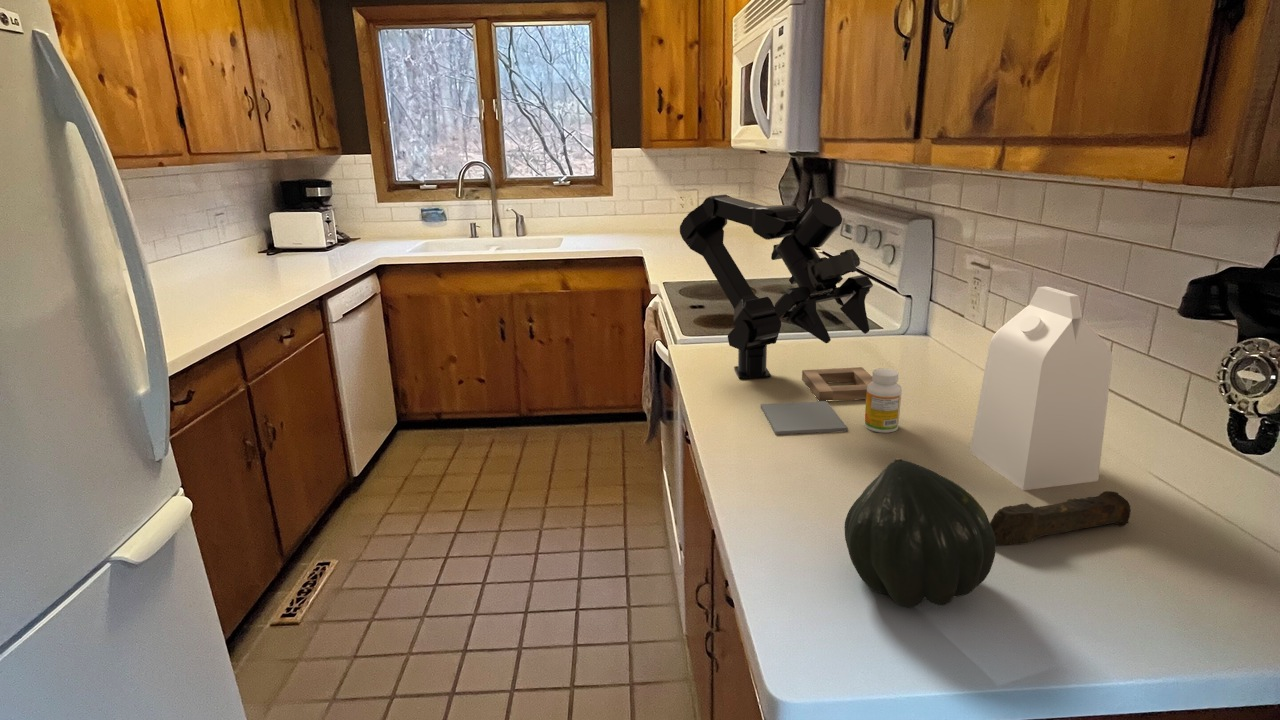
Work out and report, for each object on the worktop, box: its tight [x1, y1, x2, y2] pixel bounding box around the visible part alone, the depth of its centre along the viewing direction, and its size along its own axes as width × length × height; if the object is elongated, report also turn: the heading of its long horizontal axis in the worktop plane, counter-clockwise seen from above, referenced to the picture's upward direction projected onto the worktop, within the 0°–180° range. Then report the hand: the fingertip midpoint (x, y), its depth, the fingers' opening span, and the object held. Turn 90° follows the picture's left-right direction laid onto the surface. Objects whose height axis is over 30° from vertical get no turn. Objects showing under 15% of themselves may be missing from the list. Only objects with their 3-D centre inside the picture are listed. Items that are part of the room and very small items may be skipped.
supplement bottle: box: [864, 367, 902, 434], centre depth 114 cm, size 5×5×10 cm
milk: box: [969, 286, 1113, 491], centre depth 97 cm, size 12×12×26 cm
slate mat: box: [760, 400, 849, 436], centre depth 120 cm, size 12×12×1 cm
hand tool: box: [989, 490, 1132, 546], centre depth 85 cm, size 19×4×5 cm, turn 102°
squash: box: [844, 457, 997, 608], centre depth 75 cm, size 14×15×15 cm
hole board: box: [801, 366, 873, 401], centre depth 133 cm, size 12×12×2 cm
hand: (848, 337), depth 118 cm, fingers open, 9 cm apart
